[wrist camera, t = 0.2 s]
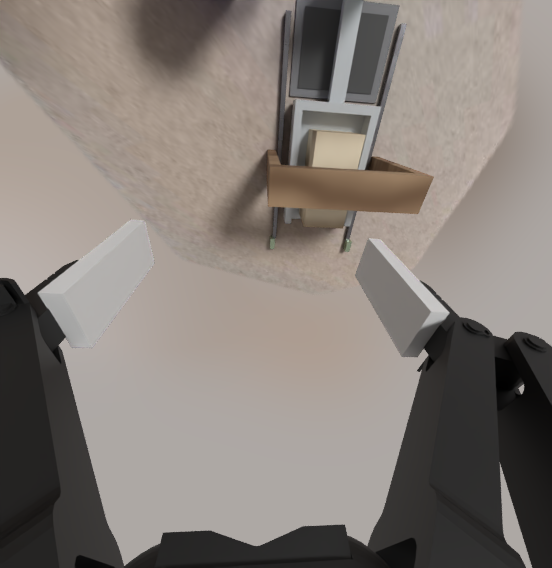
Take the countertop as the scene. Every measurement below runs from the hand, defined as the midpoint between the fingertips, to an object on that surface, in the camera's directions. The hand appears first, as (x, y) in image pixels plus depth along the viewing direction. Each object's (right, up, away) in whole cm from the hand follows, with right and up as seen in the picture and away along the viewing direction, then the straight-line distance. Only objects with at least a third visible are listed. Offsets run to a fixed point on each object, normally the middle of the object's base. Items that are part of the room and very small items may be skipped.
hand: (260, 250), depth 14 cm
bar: (+8, +15, +22) cm, 28 cm away
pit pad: (+9, +27, +15) cm, 32 cm away
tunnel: (+8, +16, +23) cm, 29 cm away
